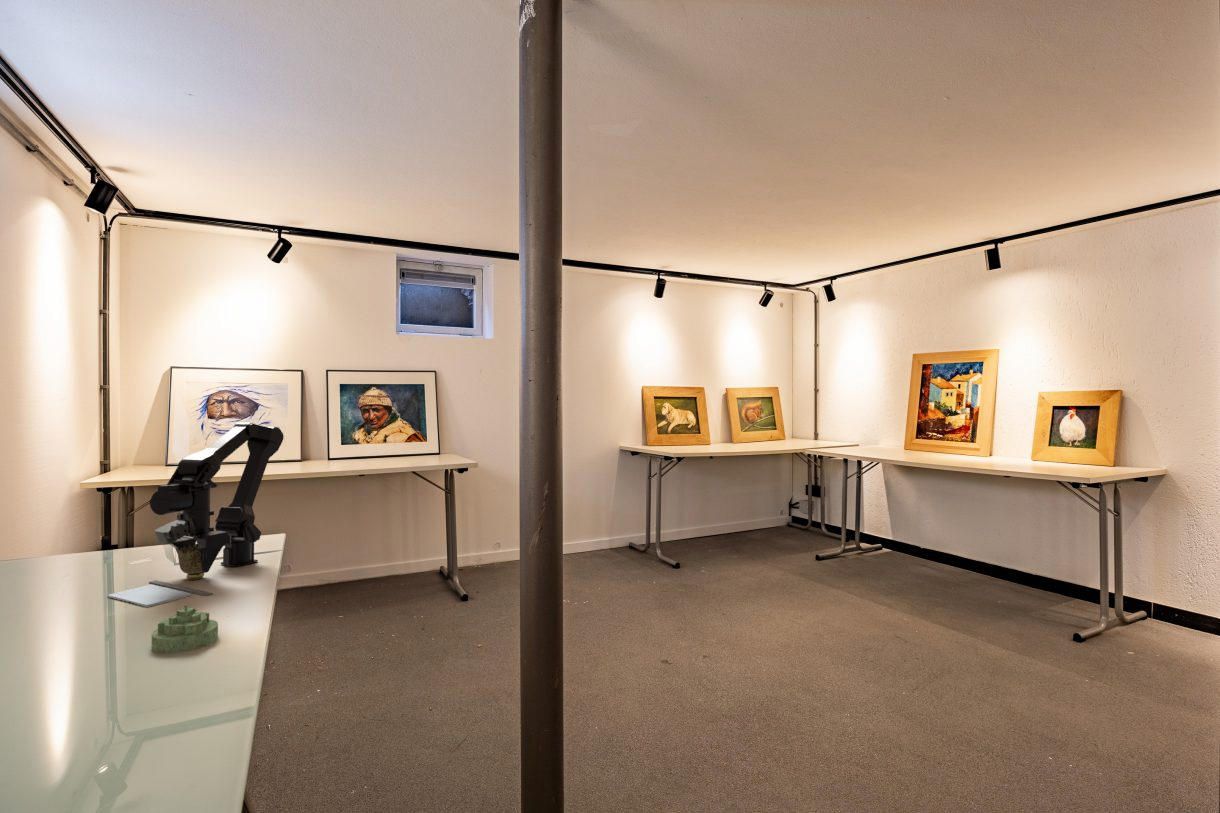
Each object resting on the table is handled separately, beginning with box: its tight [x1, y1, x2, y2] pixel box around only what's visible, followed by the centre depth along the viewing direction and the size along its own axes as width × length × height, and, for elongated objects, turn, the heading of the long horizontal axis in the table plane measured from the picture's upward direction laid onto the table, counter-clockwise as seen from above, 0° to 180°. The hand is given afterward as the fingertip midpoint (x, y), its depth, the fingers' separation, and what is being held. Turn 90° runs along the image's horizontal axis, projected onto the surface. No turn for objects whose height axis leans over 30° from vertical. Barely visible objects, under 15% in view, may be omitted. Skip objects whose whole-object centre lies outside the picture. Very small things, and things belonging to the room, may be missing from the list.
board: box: [106, 583, 192, 608], centre depth 136 cm, size 9×15×1 cm, turn 66°
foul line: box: [148, 579, 214, 597], centre depth 142 cm, size 2×22×1 cm, turn 66°
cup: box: [176, 543, 205, 581], centre depth 150 cm, size 8×7×8 cm
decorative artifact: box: [150, 603, 219, 654], centre depth 111 cm, size 10×7×10 cm
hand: (195, 570), depth 150 cm, fingers open, 8 cm apart
